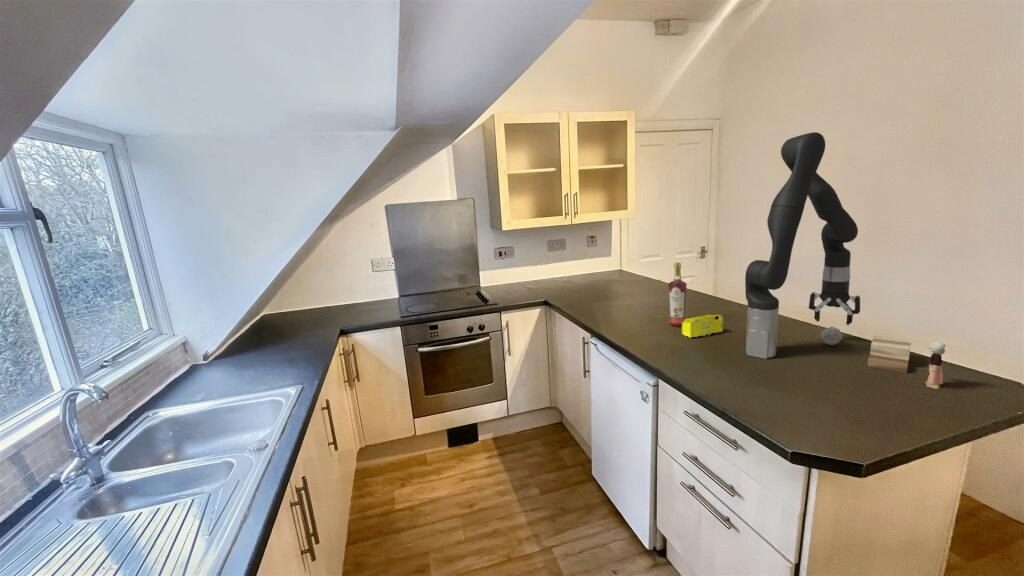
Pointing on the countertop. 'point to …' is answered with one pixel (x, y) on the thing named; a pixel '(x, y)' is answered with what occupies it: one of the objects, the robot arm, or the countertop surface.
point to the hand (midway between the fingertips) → (832, 322)
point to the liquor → (677, 298)
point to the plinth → (889, 354)
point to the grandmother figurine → (935, 365)
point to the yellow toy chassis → (702, 325)
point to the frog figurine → (831, 335)
